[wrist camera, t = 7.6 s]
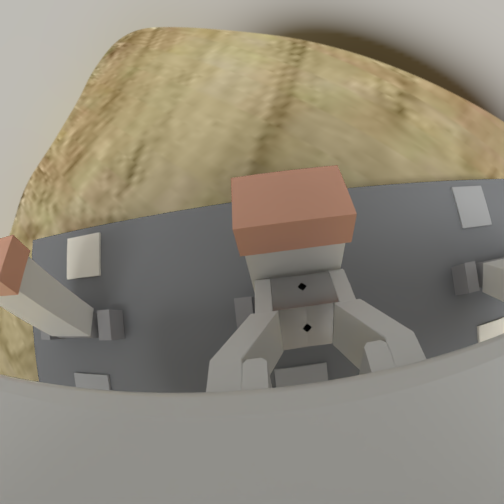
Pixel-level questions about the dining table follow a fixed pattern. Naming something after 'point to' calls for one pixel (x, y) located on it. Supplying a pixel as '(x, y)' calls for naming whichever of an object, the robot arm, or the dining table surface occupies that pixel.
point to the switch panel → (243, 296)
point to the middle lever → (292, 221)
